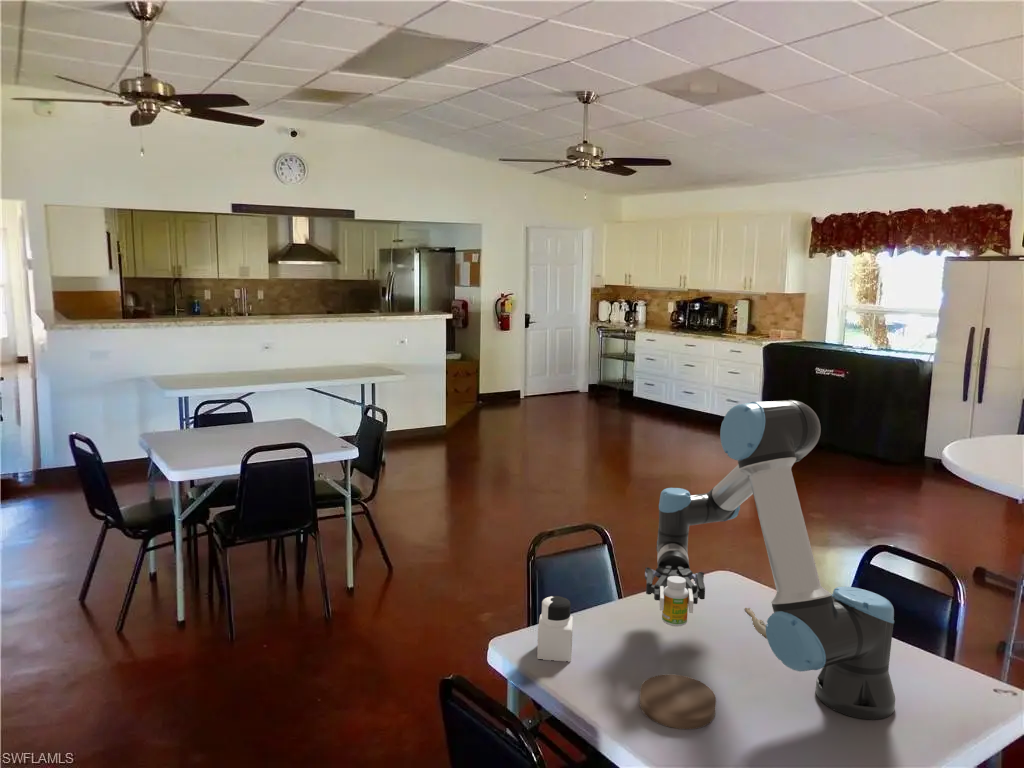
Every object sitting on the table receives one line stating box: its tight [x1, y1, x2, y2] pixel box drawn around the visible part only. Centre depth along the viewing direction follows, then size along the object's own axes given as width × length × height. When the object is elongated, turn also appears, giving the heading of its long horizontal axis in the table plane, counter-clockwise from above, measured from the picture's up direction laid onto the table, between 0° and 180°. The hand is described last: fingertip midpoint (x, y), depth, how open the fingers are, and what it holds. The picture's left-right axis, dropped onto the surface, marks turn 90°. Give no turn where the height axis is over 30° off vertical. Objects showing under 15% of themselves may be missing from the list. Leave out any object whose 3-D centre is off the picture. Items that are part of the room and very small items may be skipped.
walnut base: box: [639, 673, 717, 730], centre depth 156 cm, size 15×15×3 cm
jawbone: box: [744, 607, 767, 639], centre depth 191 cm, size 9×20×2 cm, turn 30°
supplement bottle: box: [661, 576, 689, 627], centre depth 167 cm, size 5×5×10 cm
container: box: [536, 595, 574, 663], centre depth 176 cm, size 8×8×13 cm
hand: (676, 605), depth 162 cm, fingers closed on supplement bottle, 5 cm apart
